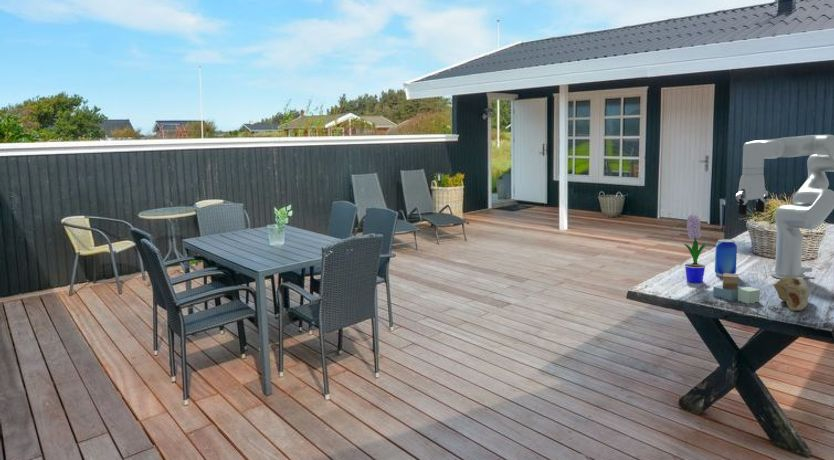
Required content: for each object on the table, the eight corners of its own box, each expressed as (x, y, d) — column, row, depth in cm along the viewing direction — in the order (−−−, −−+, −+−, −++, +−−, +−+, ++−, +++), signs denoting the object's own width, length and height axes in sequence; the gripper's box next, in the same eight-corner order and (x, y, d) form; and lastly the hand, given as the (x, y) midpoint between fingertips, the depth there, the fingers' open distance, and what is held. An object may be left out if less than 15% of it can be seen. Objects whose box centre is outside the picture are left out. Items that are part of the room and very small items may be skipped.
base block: (727, 293, 229) (728, 283, 228) (745, 298, 221) (746, 288, 221) (713, 296, 226) (713, 286, 225) (730, 301, 218) (731, 291, 218)
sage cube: (748, 299, 219) (748, 286, 218) (759, 302, 214) (759, 289, 213) (737, 300, 218) (738, 288, 217) (748, 304, 213) (749, 291, 212)
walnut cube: (737, 289, 220) (737, 277, 219) (722, 288, 222) (723, 276, 221) (737, 286, 224) (738, 274, 223) (723, 285, 226) (723, 273, 226)
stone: (825, 313, 199) (827, 285, 197) (787, 312, 202) (789, 284, 200) (805, 299, 215) (807, 273, 213) (770, 298, 218) (772, 273, 216)
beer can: (733, 273, 258) (735, 238, 255) (737, 277, 250) (739, 242, 248) (713, 272, 261) (714, 238, 258) (716, 276, 253) (717, 241, 250)
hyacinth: (712, 283, 242) (714, 214, 237) (686, 283, 244) (688, 215, 240) (706, 278, 251) (708, 212, 246) (681, 278, 253) (682, 212, 248)
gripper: (759, 170, 238) (758, 210, 241) (729, 173, 233) (727, 214, 235) (776, 170, 231) (774, 212, 234) (745, 173, 226) (743, 216, 228)
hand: (751, 213), depth 235 cm, fingers open, 9 cm apart
